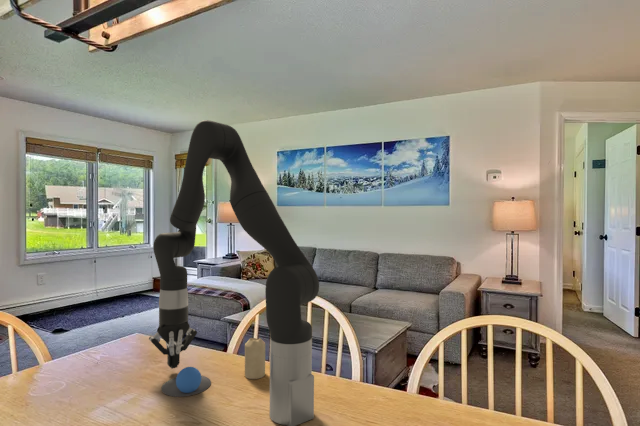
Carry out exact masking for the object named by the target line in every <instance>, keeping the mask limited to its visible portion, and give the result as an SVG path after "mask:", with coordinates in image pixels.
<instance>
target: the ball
mask: <svg viewBox="0 0 640 426" xmlns="http://www.w3.org/2000/svg"><path fill="white" fill-rule="evenodd" d="M201 375H202V373H201V372H200V370H199V369H198V368H196V367H194V366H187V367H184V368H182V369H181V370H180V371H179V372H178V373H177V375H176V377H177V378H176V377H175V378H176V385H177V387H178V389H179V390H180V391H181V392H184V393H191V392H193V391H195V390H196V389H197V388H198V387H199V385H200V383H201Z"/></svg>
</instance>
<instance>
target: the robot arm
mask: <svg viewBox="0 0 640 426" xmlns="http://www.w3.org/2000/svg"><path fill="white" fill-rule="evenodd" d="M209 159H212V160H213V159H214V160H219V161H220V162H221V163H222V164H223V165H224V167H225V169H226V171H227V173H228V175H229V177H230V178H229V179H230V191H229V193H230V194H229V202H230V203H229V204H230V207H231V208H232V211H233V213H234V215H235V217H236V219H237V222H239V224H240V226H241V228H242V230H243V231H244V232H245V233H246V234H247V235H248V236H250V237H251V239H252V240H254V241H255V242H256V243H258V245H260V246H261V247H262V248H263V249H265V251H267V252H268V253H269V255H270V256H271V257H272V258H273V260H274V261H275V264H276V265H277V267H275V268H273V269H272V270H271V271H270V272H269V274H268V276H267V278H266V283H265V295H264V296H265V310H266V311H265V312H266V313H265V315H266V317H265V318H266V324H267V327H268V329H269V334H270V335H269V418H270V419H271V421H272V422H274V423H276V424H279V425H281V426H282V425H283V426H298V425H301V424H303V423H306V422H308V421H310V420H312V419H315V417H314V415H315V413H314V412H315V375H314V374H313V373H312V371H313V370H312V369H313V368H312V365H313V364H312V362H313V361H312V360H313V359H312V358H313V357H312V356H313V352H312V351H313V348H312V347H313V327H312V324H311V323H310V322H309V321H308V320H305V319H304V320H303V319H302V309H301V308H302V307H301V306H302V305H305V304H308V303H309V302H312V301H314V300H315V299H316V298H317V296H318V294H319V292H320V291H319V290H320V281H319V277H318V275H317V272H316V270H315V269H314V267H313V266H312V264H311V263H310V261H309V260H308V258H307V257H306V256H305V254H304V253H303V251H302V250H301V249H300V246H299V245H297V243H296V241H295V240H294V238H293V236H292V235H291V232H290V231H289V229H288V228H287V226H286V224H285V223H284V220H283V219H282V217H281V216H280V213H279V212H278V210H277V208H276V205H275V204H274V202H273V200H272V198H271V197H270V195H269V192H267V190H266V187H264V185H263V182H262V181H261V179H260V177H259V175H258V173H257V172H256V170H255V168H254V166H253V164H252V162H251V160H250V158H249V156H248V153H247V150H246V148H245V146H244V143H243V140H242V138H241V136H240V134H239V133H238V131H237V130H236V129H235V128H234V127H232V126H230V125H229V124H225V123H221V122H218V121H213V120H209V119H204V120H200V121H199V122H198V123H197V124H196V125H195V127H194V128H193V131H192V133H191V136H190V140H189V144H188V150H187V155H186V159H185V165H184V171H183V177H182V181H181V185H180V190H179V193H178V195H177V198H176V201H175V204H174V206H173V208H172V211H171V214H170V217H169V223H170V224H171V226H173V227H174V228H176V229H177V231H174V232H162V233H159V234H158V235H157V236H156V237H155V239H154V242H153V244H152V245H153V246H152V248H153V254H154V257H155V260H156V264H157V268H158V272H159V285H160V286H159V296H158V314H159V315H158V328H157V330H156V333H155V334H153V335H150V336H149V338H148V340H149V341H150V342H151V343H152V344H153V345H154V346H155V348H157V350H158V351H159V352H161V353H162V354H163V355H164V356H165V355H166V356H167V362H166V363H167V366H168V367H169V368H170V369H175V368H178V366H179V364H180V359H181V358H180V356H181V355H180V354H181V353H182V352H183V351H186V350H187V349H188V348H189V346H190V345H191V343H192V341H193V340H194V339H195V337H196V335H197V333H198V331H197V330H196V329H194V328H192V327H190V323H189V292H188V271H187V270H188V269H187V268H186V267H185V266H180V265H176V262H175V259H177V258H183V257H184V258H185V257H187V256H189V254H191V253H192V251H193V250H194V249H195V244H196V233H197V224H198V222H199V219H200V216H201V214H202V212H203V210H204V206H205V201H206V200H205V199H206V195H205V188H204V170H205V167H206V165H207V163H208V161H209ZM161 338H162V339H163V341H164V342H165V346H166V348H165V347H164V345H162V343H160V342H161Z"/></svg>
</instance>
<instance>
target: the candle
mask: <svg viewBox="0 0 640 426" xmlns="http://www.w3.org/2000/svg"><path fill="white" fill-rule="evenodd" d="M265 375H266V342H265V341H264V340H263V339H262V338H260V337H259V338H255V337H253V338H252V337H250V338H249V339H248V340H247V342H245V343H244V377H245V378H246V379H249V380H258V379H261V378H264V377H265Z"/></svg>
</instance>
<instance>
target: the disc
mask: <svg viewBox="0 0 640 426" xmlns="http://www.w3.org/2000/svg"><path fill="white" fill-rule="evenodd" d="M176 378H177V376H175V377H173V378H171V379H169V380H167V381H166V382H164V383H163V384H162V386H161V392H162V393H163V394H164V395H166V396H169V397H173V398H175V397H176V398H177V397H179V398H181V397H183V398H184V397H189V396H193V395H194V396H195V395H197V394H201V393H202V392H205V391H206V390H208V389H209V388H210V387H211V385H212V380H211V379H210V377H208V376H205V375H202V374H201V383H200V385H199V387H198V388H197V389H196V390H195V391H193V392H191V393H184V392H181V391H180V390H179V389H178V387H177V385H176Z"/></svg>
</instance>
